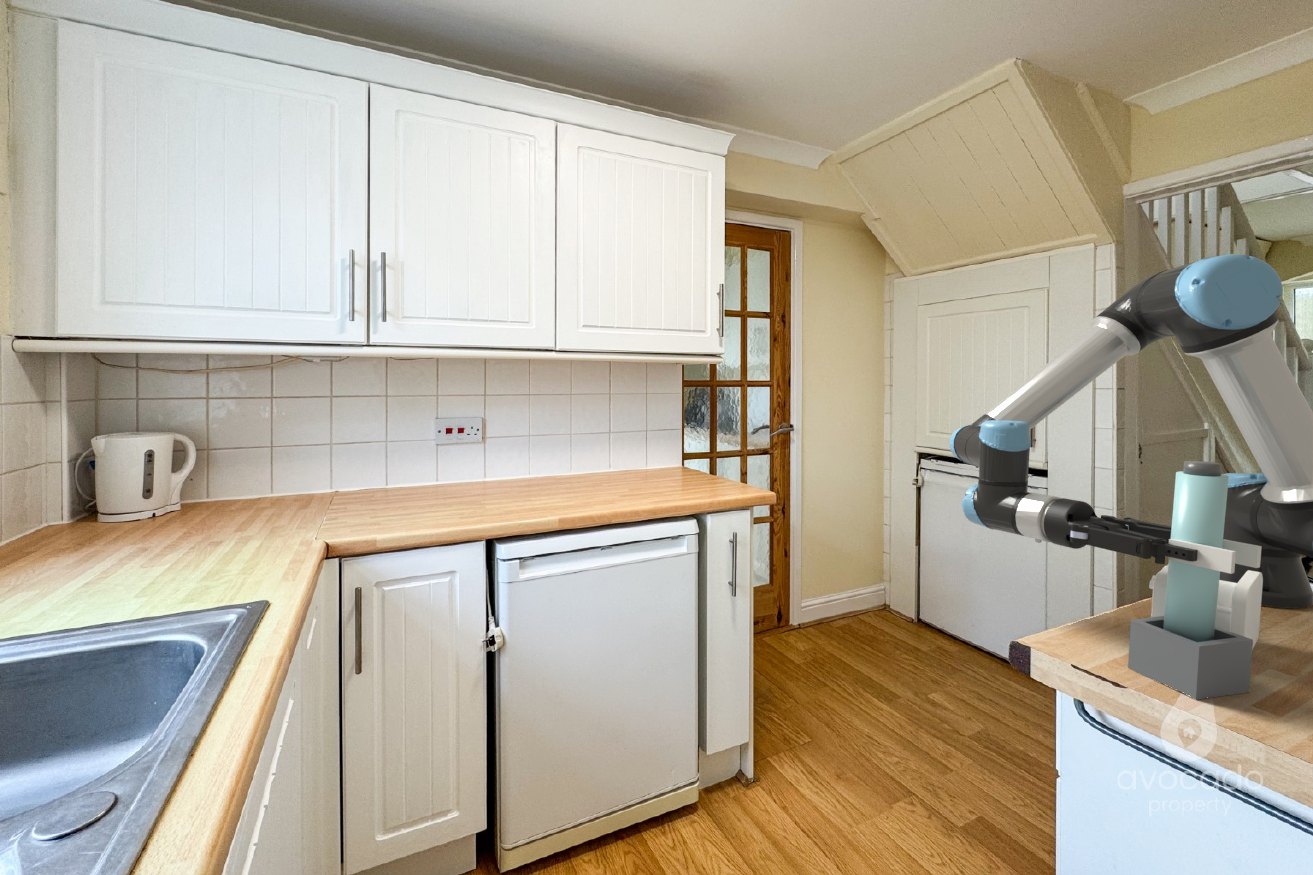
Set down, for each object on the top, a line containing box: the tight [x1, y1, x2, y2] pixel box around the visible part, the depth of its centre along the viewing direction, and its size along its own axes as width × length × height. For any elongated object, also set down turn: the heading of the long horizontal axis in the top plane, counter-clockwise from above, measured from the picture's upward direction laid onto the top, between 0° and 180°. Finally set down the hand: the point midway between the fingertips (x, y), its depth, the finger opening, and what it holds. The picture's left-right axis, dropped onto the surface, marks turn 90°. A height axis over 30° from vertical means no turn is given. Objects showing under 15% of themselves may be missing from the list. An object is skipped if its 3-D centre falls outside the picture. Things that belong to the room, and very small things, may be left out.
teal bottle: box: [1163, 460, 1229, 642], centre depth 76 cm, size 5×5×24 cm
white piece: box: [1148, 562, 1263, 651], centre depth 87 cm, size 15×11×12 cm
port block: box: [1127, 616, 1253, 701], centre depth 77 cm, size 9×9×7 cm
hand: (1245, 559), depth 71 cm, fingers closed on teal bottle, 5 cm apart
